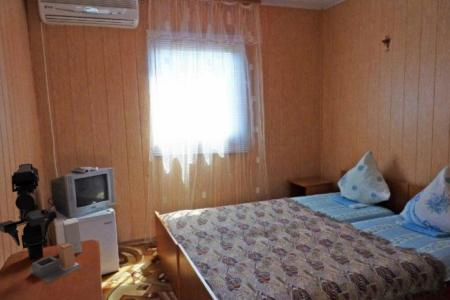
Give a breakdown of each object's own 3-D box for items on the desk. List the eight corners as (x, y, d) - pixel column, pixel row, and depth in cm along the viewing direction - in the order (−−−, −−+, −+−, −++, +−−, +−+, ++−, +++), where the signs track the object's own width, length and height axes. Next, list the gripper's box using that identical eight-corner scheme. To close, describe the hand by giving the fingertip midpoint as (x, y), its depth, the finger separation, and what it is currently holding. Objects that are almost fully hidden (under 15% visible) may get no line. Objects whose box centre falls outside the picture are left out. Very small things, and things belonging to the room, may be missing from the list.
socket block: (27, 273, 122) (26, 261, 121) (63, 258, 133) (61, 247, 133) (47, 285, 113) (46, 272, 112) (83, 268, 124) (82, 256, 124)
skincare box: (82, 253, 137) (79, 221, 136) (67, 257, 134) (64, 225, 132) (79, 247, 144) (76, 216, 142) (65, 250, 141) (62, 219, 139)
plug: (60, 266, 124) (58, 246, 123) (70, 262, 128) (68, 242, 127) (65, 268, 122) (63, 248, 121) (75, 264, 125) (73, 244, 124)
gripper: (8, 213, 107) (13, 256, 109) (62, 199, 122) (66, 237, 124) (-5, 208, 113) (1, 248, 115) (48, 195, 128) (52, 231, 130)
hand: (31, 241), depth 121 cm, fingers open, 9 cm apart
